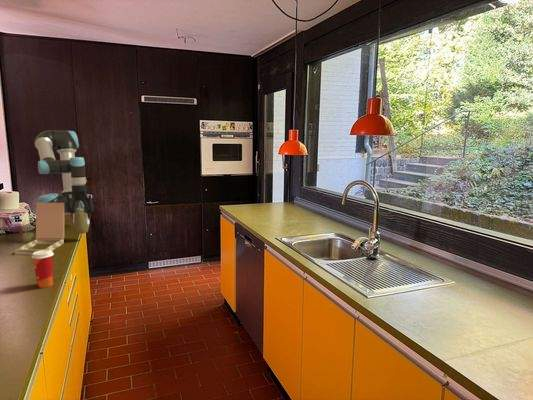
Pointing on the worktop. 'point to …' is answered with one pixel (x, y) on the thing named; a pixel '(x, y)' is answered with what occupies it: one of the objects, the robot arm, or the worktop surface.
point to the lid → (49, 220)
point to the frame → (25, 249)
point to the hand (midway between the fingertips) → (81, 224)
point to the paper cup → (43, 268)
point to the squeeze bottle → (80, 220)
